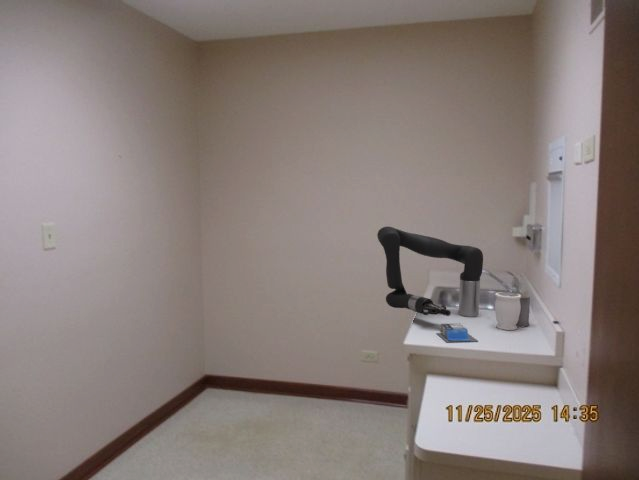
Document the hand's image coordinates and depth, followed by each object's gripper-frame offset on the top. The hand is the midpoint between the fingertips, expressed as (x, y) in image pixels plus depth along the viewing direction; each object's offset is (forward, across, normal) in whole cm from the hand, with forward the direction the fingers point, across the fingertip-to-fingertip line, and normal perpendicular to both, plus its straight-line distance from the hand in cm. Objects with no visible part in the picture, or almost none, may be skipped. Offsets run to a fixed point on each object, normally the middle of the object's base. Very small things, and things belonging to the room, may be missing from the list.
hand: (449, 313), depth 202 cm
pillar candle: (+8, +35, +8) cm, 37 cm away
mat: (+8, -4, +8) cm, 12 cm away
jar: (+9, +26, +8) cm, 29 cm away
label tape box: (+2, -1, +6) cm, 6 cm away
